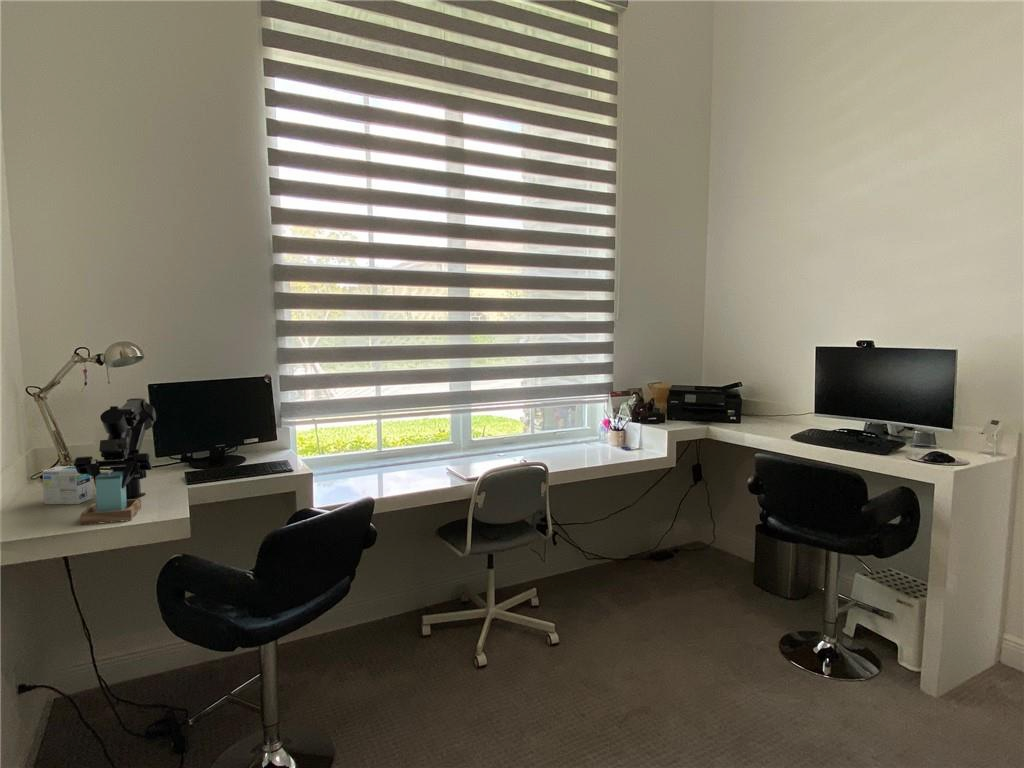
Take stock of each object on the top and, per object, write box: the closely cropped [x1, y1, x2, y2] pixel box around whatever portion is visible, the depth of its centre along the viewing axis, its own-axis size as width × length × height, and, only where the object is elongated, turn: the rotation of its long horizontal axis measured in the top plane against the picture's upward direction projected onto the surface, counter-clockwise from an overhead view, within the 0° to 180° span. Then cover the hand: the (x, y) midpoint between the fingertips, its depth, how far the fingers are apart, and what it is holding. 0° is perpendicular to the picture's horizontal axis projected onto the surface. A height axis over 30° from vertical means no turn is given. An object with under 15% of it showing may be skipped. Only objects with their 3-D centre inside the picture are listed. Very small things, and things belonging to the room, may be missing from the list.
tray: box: [79, 498, 142, 525], centre depth 171 cm, size 12×12×3 cm
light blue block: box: [95, 469, 127, 512], centre depth 170 cm, size 6×6×12 cm
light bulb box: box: [41, 465, 93, 505], centre depth 184 cm, size 11×7×11 cm, turn 92°
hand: (109, 488), depth 169 cm, fingers closed on light blue block, 6 cm apart
